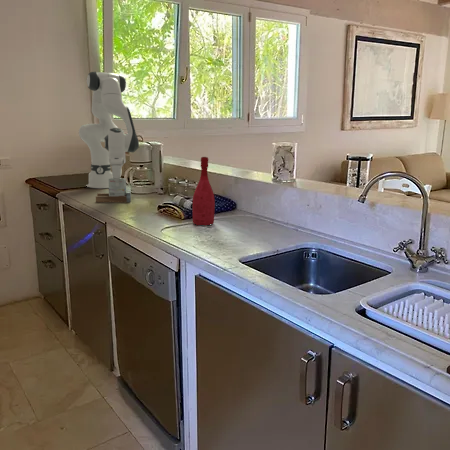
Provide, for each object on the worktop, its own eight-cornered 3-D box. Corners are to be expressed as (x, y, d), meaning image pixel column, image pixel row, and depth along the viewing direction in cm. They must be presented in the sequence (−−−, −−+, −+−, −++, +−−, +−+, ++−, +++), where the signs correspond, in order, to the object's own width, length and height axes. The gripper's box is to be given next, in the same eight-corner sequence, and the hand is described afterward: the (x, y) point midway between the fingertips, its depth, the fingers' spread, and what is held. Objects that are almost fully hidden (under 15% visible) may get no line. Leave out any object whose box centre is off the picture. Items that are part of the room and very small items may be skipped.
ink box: (126, 199, 254) (126, 178, 252) (124, 200, 250) (124, 179, 247) (111, 198, 255) (111, 177, 253) (108, 200, 250) (108, 178, 248)
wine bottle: (217, 222, 210) (219, 156, 203) (209, 227, 201) (211, 158, 194) (197, 220, 213) (198, 155, 206) (188, 225, 204) (189, 157, 197)
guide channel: (97, 198, 256) (97, 189, 254) (130, 198, 259) (130, 189, 258) (95, 202, 246) (95, 193, 244) (130, 202, 249) (130, 193, 248)
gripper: (112, 157, 257) (112, 181, 260) (109, 161, 237) (110, 188, 241) (123, 157, 258) (124, 182, 261) (122, 161, 238) (123, 188, 242)
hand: (117, 185), depth 251 cm, fingers closed on ink box, 5 cm apart
